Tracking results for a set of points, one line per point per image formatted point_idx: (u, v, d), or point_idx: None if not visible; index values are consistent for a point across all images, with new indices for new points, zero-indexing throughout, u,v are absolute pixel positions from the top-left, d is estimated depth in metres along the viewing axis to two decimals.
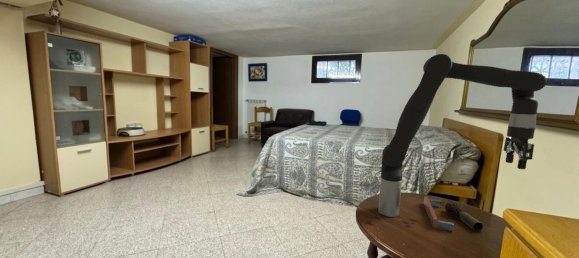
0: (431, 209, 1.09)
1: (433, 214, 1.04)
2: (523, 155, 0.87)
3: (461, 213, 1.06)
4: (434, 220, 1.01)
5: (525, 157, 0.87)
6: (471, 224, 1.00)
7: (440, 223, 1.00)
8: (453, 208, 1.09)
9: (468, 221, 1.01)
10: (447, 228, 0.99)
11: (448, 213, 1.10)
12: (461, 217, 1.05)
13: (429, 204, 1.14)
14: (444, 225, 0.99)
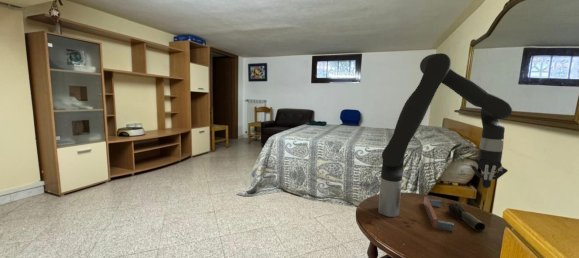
0: (431, 209, 1.09)
1: (433, 214, 1.04)
2: (496, 176, 0.99)
3: (464, 213, 1.06)
4: (434, 220, 1.01)
5: None
6: (473, 224, 1.00)
7: (440, 223, 1.00)
8: (456, 208, 1.09)
9: (470, 221, 1.01)
10: (447, 228, 0.99)
11: (451, 213, 1.10)
12: (463, 217, 1.05)
13: (429, 204, 1.14)
14: (444, 225, 0.99)
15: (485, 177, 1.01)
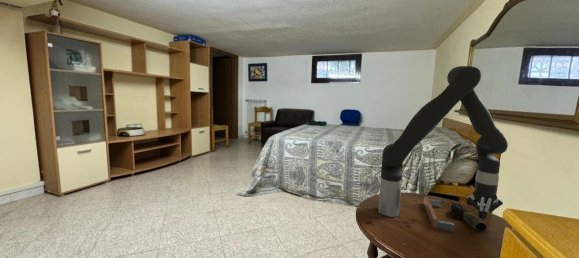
0: (431, 209, 1.09)
1: (433, 214, 1.04)
2: (491, 208, 1.01)
3: (465, 213, 1.06)
4: (434, 220, 1.01)
5: None
6: (474, 224, 0.99)
7: (440, 223, 1.00)
8: (458, 208, 1.09)
9: (471, 221, 1.01)
10: (447, 228, 0.99)
11: (453, 213, 1.10)
12: (465, 217, 1.05)
13: (429, 204, 1.14)
14: (444, 225, 0.99)
15: (481, 209, 1.03)
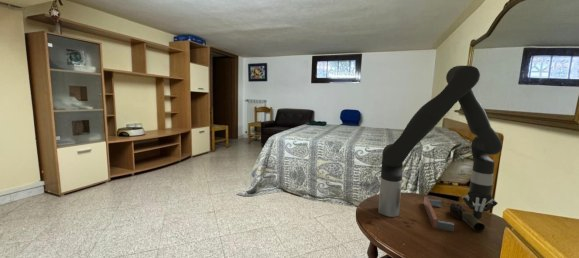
0: (431, 209, 1.09)
1: (433, 214, 1.04)
2: (486, 208, 1.02)
3: (464, 213, 1.06)
4: (434, 220, 1.01)
5: None
6: (472, 224, 0.99)
7: (440, 223, 1.00)
8: (456, 208, 1.09)
9: (469, 221, 1.01)
10: (447, 228, 0.99)
11: (451, 213, 1.10)
12: (463, 217, 1.05)
13: (429, 204, 1.14)
14: (444, 225, 0.99)
15: (476, 209, 1.04)
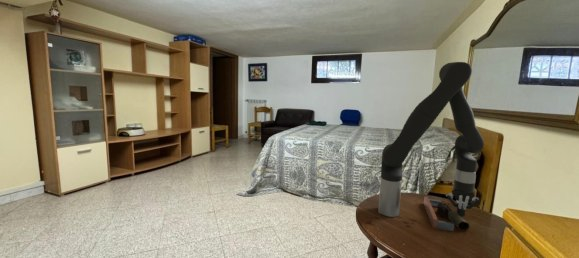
0: (431, 209, 1.09)
1: (433, 214, 1.04)
2: (469, 206, 1.04)
3: (450, 212, 1.06)
4: (434, 220, 1.01)
5: None
6: (456, 223, 1.00)
7: (440, 223, 1.00)
8: (443, 207, 1.09)
9: (454, 220, 1.02)
10: (447, 228, 0.99)
11: (438, 212, 1.11)
12: (449, 216, 1.05)
13: (429, 204, 1.14)
14: (444, 225, 0.99)
15: (459, 206, 1.06)
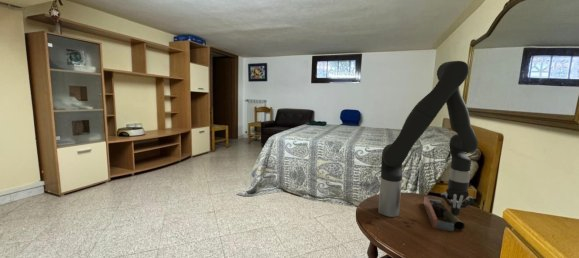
0: (431, 209, 1.09)
1: (433, 214, 1.04)
2: (463, 205, 1.05)
3: (445, 212, 1.07)
4: (434, 220, 1.01)
5: None
6: None
7: (440, 223, 1.00)
8: (438, 207, 1.10)
9: (450, 220, 1.02)
10: (447, 228, 0.99)
11: None
12: (444, 216, 1.06)
13: (429, 204, 1.14)
14: (444, 225, 0.99)
15: (454, 205, 1.07)
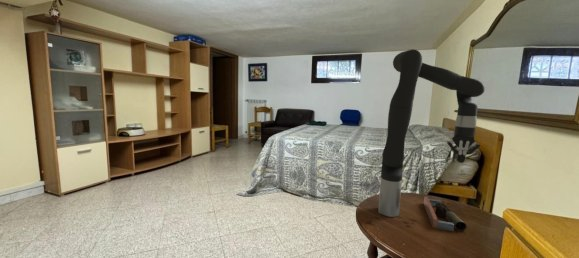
0: (431, 209, 1.09)
1: (433, 214, 1.04)
2: (469, 151, 1.06)
3: (448, 212, 1.06)
4: (434, 220, 1.01)
5: None
6: (453, 223, 1.00)
7: (440, 223, 1.00)
8: (441, 207, 1.09)
9: (452, 220, 1.02)
10: (447, 228, 0.99)
11: (436, 212, 1.11)
12: (447, 216, 1.06)
13: (429, 204, 1.14)
14: (444, 225, 0.99)
15: (460, 152, 1.08)
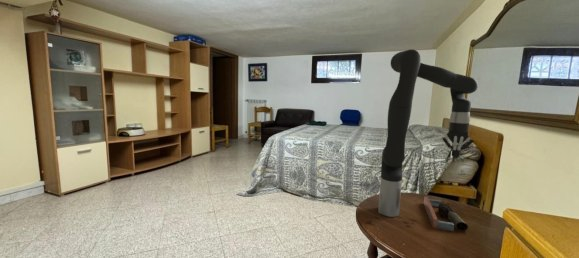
0: (431, 209, 1.09)
1: (433, 214, 1.04)
2: (463, 146, 1.10)
3: (450, 213, 1.06)
4: (434, 220, 1.01)
5: None
6: (455, 223, 1.00)
7: (440, 223, 1.00)
8: (443, 207, 1.09)
9: (453, 220, 1.02)
10: (447, 228, 0.99)
11: (438, 212, 1.11)
12: (449, 216, 1.05)
13: (429, 204, 1.14)
14: (444, 225, 0.99)
15: (454, 147, 1.11)
